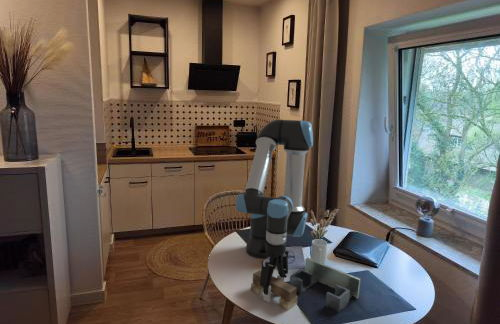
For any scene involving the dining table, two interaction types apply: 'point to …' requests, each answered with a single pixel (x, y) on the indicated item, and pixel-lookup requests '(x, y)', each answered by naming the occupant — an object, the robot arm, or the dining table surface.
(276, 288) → the rail
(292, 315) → the dining table surface
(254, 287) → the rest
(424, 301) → the dining table surface
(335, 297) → the bracket
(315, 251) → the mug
